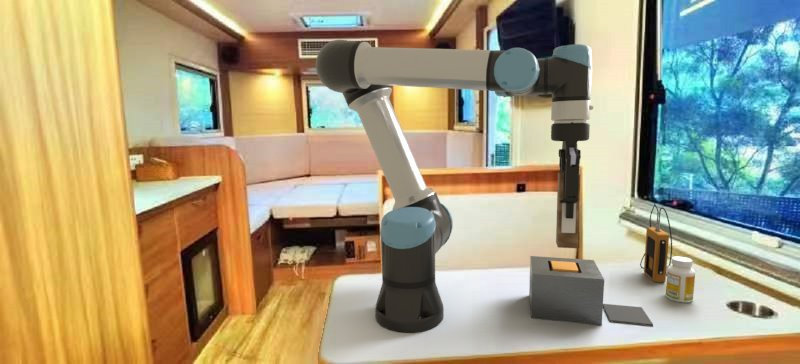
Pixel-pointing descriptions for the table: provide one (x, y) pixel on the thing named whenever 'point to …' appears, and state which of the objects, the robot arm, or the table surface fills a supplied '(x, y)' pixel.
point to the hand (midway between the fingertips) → (566, 229)
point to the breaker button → (564, 266)
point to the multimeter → (656, 251)
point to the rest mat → (627, 314)
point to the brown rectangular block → (561, 238)
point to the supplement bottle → (680, 280)
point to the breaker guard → (566, 291)
